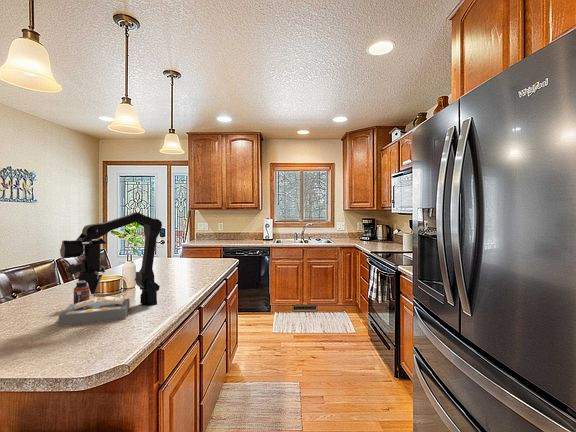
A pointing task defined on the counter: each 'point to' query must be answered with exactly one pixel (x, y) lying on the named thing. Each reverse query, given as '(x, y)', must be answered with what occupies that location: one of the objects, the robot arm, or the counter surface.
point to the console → (94, 313)
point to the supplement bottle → (81, 292)
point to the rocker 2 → (113, 300)
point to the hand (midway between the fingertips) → (92, 293)
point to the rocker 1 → (85, 303)
